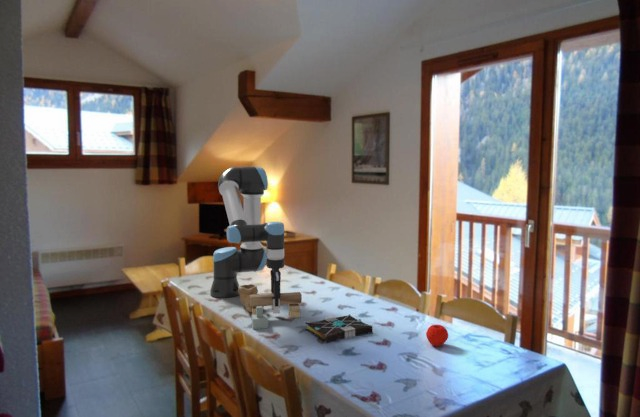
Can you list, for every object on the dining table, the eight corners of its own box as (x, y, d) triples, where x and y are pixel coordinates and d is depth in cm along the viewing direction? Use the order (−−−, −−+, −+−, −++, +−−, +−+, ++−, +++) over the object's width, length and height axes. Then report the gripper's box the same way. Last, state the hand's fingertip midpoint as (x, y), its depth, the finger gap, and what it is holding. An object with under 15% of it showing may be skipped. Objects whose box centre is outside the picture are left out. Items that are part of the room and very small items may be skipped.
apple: (444, 350, 169) (444, 330, 168) (422, 346, 173) (423, 326, 172) (450, 343, 176) (451, 324, 175) (430, 339, 180) (430, 320, 179)
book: (325, 344, 176) (325, 331, 175) (304, 330, 191) (304, 318, 190) (373, 334, 186) (373, 322, 186) (349, 322, 201) (350, 310, 201)
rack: (252, 317, 206) (252, 305, 206) (297, 313, 211) (297, 302, 210) (253, 320, 201) (253, 309, 201) (299, 317, 206) (299, 306, 205)
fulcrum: (251, 324, 197) (251, 305, 196) (266, 323, 198) (266, 304, 197) (253, 329, 191) (252, 309, 190) (268, 328, 192) (267, 308, 192)
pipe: (245, 315, 209) (245, 292, 208) (235, 305, 223) (235, 284, 222) (265, 312, 213) (265, 290, 212) (254, 303, 227) (254, 282, 226)
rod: (249, 304, 205) (249, 294, 205) (299, 300, 210) (299, 292, 210) (250, 306, 201) (250, 297, 201) (301, 303, 206) (301, 294, 206)
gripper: (264, 254, 211) (264, 306, 214) (269, 262, 195) (269, 318, 197) (281, 254, 213) (281, 305, 215) (287, 262, 196) (287, 317, 199)
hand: (275, 311), depth 206 cm, fingers closed on rod, 4 cm apart
